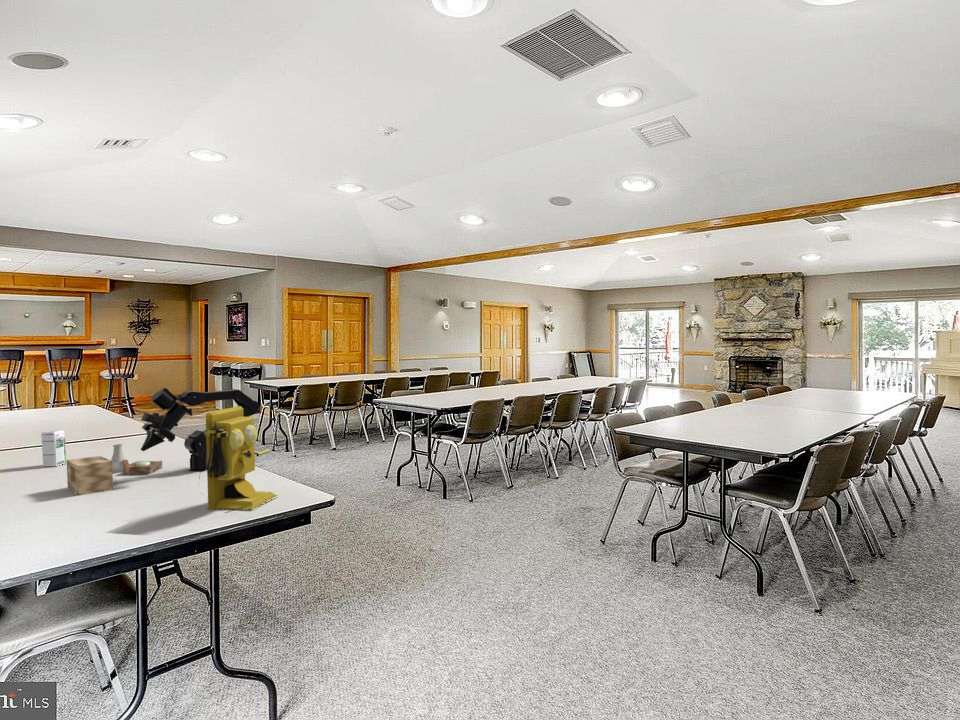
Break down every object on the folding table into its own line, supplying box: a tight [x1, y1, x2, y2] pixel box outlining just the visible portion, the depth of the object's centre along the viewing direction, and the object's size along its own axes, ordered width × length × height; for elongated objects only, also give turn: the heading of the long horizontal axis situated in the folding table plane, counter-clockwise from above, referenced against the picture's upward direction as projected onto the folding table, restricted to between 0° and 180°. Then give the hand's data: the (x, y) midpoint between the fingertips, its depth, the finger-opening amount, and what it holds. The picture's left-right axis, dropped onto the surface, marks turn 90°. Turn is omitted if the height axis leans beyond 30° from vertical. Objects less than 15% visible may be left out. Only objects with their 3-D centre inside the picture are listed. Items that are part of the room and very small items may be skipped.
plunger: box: [112, 459, 130, 475], centre depth 209 cm, size 8×5×5 cm, turn 139°
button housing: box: [122, 460, 163, 475], centre depth 229 cm, size 10×10×3 cm
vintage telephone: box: [198, 405, 279, 514], centre depth 183 cm, size 31×14×30 cm, turn 170°
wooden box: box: [66, 455, 114, 496], centre depth 203 cm, size 10×14×10 cm
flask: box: [110, 443, 127, 463], centre depth 233 cm, size 7×7×10 cm
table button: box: [136, 462, 150, 466], centre depth 229 cm, size 5×5×3 cm
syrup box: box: [40, 429, 67, 468], centre depth 241 cm, size 6×6×14 cm
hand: (141, 450), depth 216 cm, fingers closed
